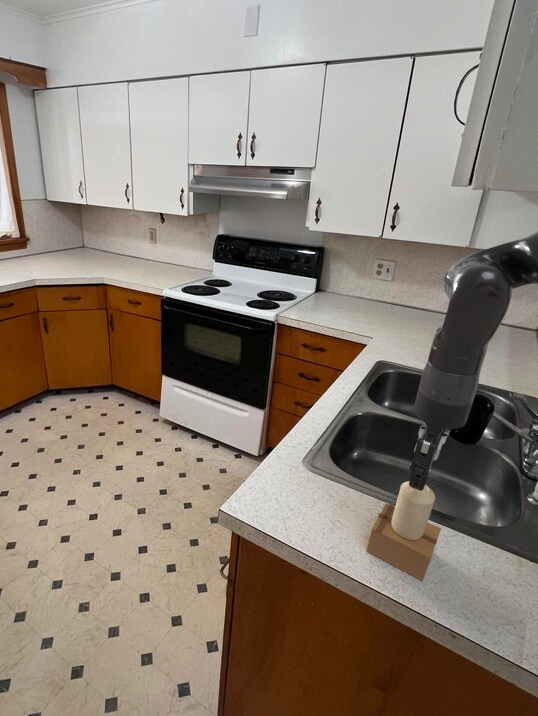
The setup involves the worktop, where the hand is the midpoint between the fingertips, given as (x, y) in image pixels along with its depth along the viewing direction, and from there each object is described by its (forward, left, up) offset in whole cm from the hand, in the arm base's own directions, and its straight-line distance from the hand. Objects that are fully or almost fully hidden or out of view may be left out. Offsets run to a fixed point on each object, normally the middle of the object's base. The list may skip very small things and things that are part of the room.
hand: (422, 473), depth 72 cm
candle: (0, 0, -13) cm, 13 cm away
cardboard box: (0, 0, -19) cm, 19 cm away
